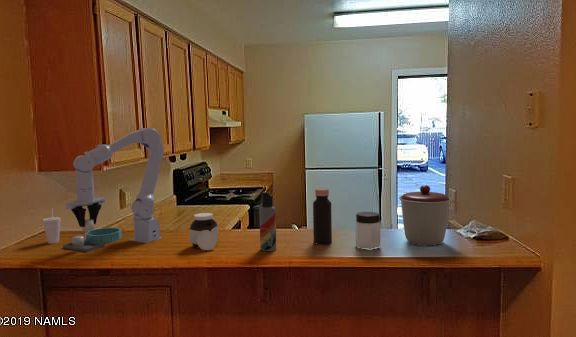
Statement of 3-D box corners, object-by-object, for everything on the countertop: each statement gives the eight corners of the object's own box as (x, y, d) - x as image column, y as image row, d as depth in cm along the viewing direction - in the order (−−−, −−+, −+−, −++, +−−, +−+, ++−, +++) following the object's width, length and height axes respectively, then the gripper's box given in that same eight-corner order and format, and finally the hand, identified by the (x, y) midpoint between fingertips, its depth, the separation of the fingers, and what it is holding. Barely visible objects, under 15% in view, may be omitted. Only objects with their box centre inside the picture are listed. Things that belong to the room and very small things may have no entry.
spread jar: (207, 241, 164) (206, 211, 163) (228, 245, 158) (227, 214, 156) (183, 248, 154) (181, 217, 153) (204, 253, 148) (203, 220, 147)
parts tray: (104, 247, 158) (104, 243, 157) (87, 253, 151) (86, 248, 151) (80, 243, 164) (80, 240, 164) (63, 248, 157) (62, 244, 157)
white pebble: (86, 245, 160) (86, 236, 159) (77, 248, 156) (76, 238, 156) (79, 244, 162) (79, 235, 161) (70, 247, 158) (69, 237, 158)
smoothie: (54, 245, 162) (51, 209, 161) (40, 245, 163) (37, 209, 162) (66, 241, 168) (63, 206, 167) (52, 240, 170) (49, 206, 168)
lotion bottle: (264, 252, 147) (262, 195, 145) (257, 248, 152) (256, 193, 150) (279, 250, 149) (277, 194, 147) (272, 246, 154) (270, 192, 152)
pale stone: (96, 228, 156) (95, 219, 156) (86, 231, 153) (86, 221, 152) (89, 227, 158) (88, 218, 158) (79, 230, 155) (78, 220, 154)
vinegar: (322, 246, 153) (322, 191, 151) (309, 242, 158) (308, 189, 156) (335, 242, 158) (335, 189, 156) (322, 239, 163) (321, 187, 161)
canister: (388, 240, 159) (388, 184, 157) (423, 233, 168) (423, 180, 166) (426, 252, 143) (426, 190, 141) (462, 244, 152) (463, 185, 150)
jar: (382, 250, 147) (382, 216, 146) (359, 251, 146) (358, 216, 145) (376, 243, 156) (376, 211, 154) (354, 244, 155) (353, 211, 154)
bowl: (128, 237, 171) (128, 229, 171) (101, 246, 160) (100, 236, 160) (106, 234, 177) (106, 226, 177) (78, 242, 166) (77, 233, 166)
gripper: (95, 185, 162) (97, 220, 164) (59, 190, 149) (62, 228, 151) (107, 186, 159) (110, 221, 160) (72, 191, 146) (75, 230, 147)
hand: (87, 225), depth 155 cm, fingers closed on pale stone, 4 cm apart
